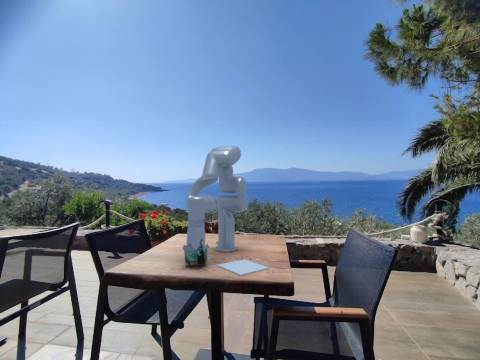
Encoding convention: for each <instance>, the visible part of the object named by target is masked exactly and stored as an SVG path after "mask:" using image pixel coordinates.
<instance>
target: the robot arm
mask: <svg viewBox="0 0 480 360" xmlns="http://www.w3.org/2000/svg"><path fill="white" fill-rule="evenodd" d="M241 157H242V153H241V148H240V147H238V146H236V145H234V146H233V145H231V146H216V147H214V148H212V149H211V151H209V152H208V153H207V155H206V158H205V161H204V166H203V169H202V175H201V176H200V177H199V178H198V179H197V180H195V182H194V183H193V184H192V185H191V186H190V189H189V190H188V195H187V199H186V206H187V207H186V208H187V230H186V231H187V232H186V246H192V248H193V249H194V250H197V251H198V254H199V255H198V264H204V262H205V252H206V249H207V246H206V245H207V244H206V230H205V226H206V225H205V222H206V221H205V219H206V217H205V216H206V215H205V214H206V212H211V211H213V210H215V208H216V207H217V208H216V209H217V221H218V223H217V226H218V227H217V228H218V231H217V232H218V234H217V235H218V237H217V239H218V241H216V242H215V244H216V245H217V246H216V247H215V250H216V251H217V252H221V253H222V252H223V253H230V252H235V251H237V250H238V247H237V246H235V245H236V244H235V241H236V239H235V225H236V224H235V217H234V215H233V213H242V212H245V211H246V209H247V183H246V180H245V179H246V178H244V177H243V176H234V167H233V166H234V165H235V164H236V163H237V162H239V161H240V158H241ZM216 182H218V189H219V191H220V192H221V193H223V194H226V195H221V196H218V198H217V199H215V197H214V196H212V195H199V193H200V192H201V191H202V190H203V189H205V188H206V187H209V186H211V185H213V184H215V183H216ZM227 194H230V195H227ZM231 194H236V195H231ZM199 247H202V248H199ZM200 250H201V252H200ZM207 250H208V249H207Z"/></svg>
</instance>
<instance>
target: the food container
mask: <svg viewBox="0 0 480 360" xmlns="http://www.w3.org/2000/svg"><path fill="white" fill-rule="evenodd" d="M205 245H206V246H207V249H206V252H205V262H204V264H198V255H199V254H198V251H197V250H194V249H193V248H192V246H187V244H186V245H185V244H183V245H182V250H183V252H184V260H185V261H184V262H185V263H184V264H185V267H186V268H189V269H201V268H203V267H204V268H205V267H206V266H207V258H208V257H207V256H208V250H209V249H210V245H209V243H208V242H207V244H205ZM199 248H202V247H199ZM200 252H201V250H200Z"/></svg>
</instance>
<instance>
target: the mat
mask: <svg viewBox="0 0 480 360" xmlns="http://www.w3.org/2000/svg"><path fill="white" fill-rule="evenodd" d="M216 267H218V268H220V269H223V270H226V271H228V272H229V273H232V274H235V275H238V276H240V277H243V276H247V275H250V274H255V273H258V272H263V271H266V270H269V269H270V267H269V266H266V265H262V264H260V263H256V262H253V261H250V260H247V259H240V260H234V261H229V262H225V263H221V264H220V263H219V264H217V265H216Z"/></svg>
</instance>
